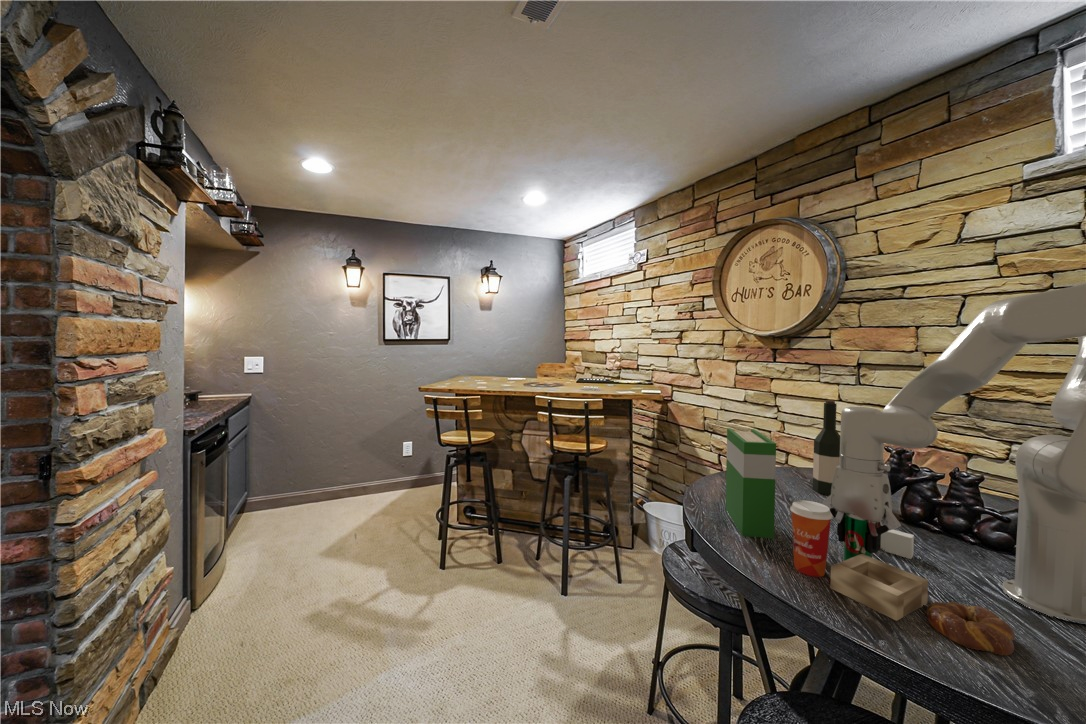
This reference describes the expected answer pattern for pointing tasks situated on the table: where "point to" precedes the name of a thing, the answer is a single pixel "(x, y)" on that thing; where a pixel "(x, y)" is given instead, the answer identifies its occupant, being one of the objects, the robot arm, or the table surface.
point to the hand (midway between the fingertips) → (857, 545)
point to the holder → (879, 586)
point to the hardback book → (751, 482)
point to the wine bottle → (826, 451)
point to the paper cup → (810, 536)
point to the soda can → (855, 536)
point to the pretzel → (972, 627)
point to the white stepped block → (898, 543)
